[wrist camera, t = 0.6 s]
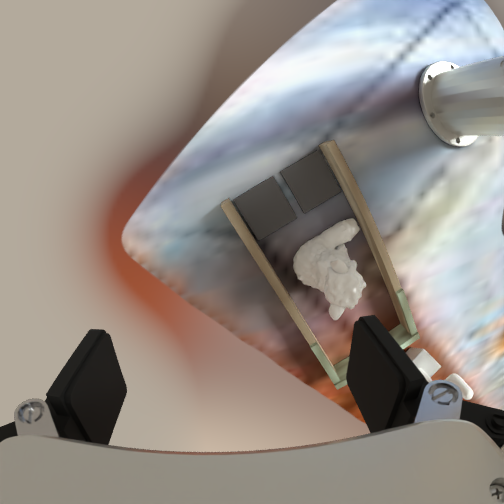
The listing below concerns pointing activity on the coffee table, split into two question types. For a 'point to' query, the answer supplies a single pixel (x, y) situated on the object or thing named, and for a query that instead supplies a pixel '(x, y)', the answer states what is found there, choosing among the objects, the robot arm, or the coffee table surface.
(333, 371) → the lane
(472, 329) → the coffee table surface
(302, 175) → the mats
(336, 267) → the sitting furry creature
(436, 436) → the robot arm
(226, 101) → the coffee table surface
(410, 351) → the figurine
